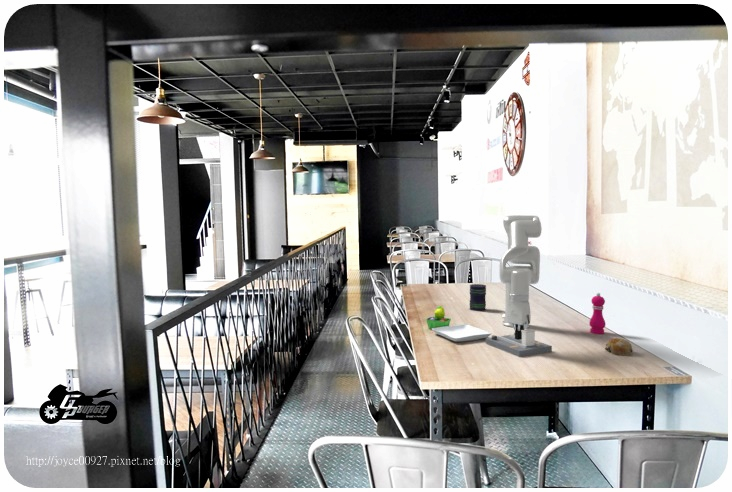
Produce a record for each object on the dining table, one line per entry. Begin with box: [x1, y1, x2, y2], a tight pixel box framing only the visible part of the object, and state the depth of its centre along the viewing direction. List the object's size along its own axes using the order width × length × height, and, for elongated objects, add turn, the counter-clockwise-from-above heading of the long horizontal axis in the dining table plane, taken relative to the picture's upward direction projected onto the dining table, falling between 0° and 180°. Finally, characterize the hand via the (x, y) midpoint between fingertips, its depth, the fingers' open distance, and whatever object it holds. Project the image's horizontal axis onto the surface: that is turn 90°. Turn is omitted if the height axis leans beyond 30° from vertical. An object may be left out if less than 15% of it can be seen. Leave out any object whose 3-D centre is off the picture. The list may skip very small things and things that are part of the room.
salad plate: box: [431, 324, 492, 343], centre depth 232 cm, size 21×21×3 cm
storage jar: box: [469, 283, 487, 312], centre depth 296 cm, size 10×10×15 cm
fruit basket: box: [425, 305, 451, 330], centre depth 248 cm, size 11×9×11 cm
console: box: [485, 332, 553, 358], centre depth 213 cm, size 22×18×4 cm
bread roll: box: [604, 337, 633, 356], centre depth 206 cm, size 10×10×8 cm
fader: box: [521, 328, 536, 346], centre depth 207 cm, size 3×5×7 cm, turn 114°
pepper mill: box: [588, 292, 606, 335], centre depth 239 cm, size 7×7×20 cm
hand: (518, 338), depth 213 cm, fingers closed
